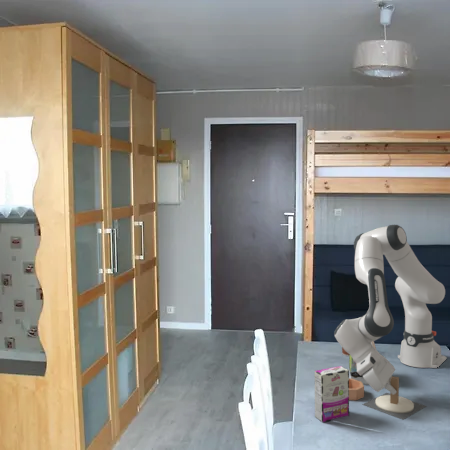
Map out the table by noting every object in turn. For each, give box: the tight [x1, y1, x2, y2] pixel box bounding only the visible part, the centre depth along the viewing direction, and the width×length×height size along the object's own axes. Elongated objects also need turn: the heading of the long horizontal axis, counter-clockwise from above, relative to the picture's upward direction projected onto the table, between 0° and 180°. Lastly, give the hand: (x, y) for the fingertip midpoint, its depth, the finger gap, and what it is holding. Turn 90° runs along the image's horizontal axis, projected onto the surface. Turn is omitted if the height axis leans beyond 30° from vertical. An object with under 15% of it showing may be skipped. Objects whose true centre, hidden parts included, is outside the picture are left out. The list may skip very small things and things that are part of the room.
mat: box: [362, 392, 428, 421], centre depth 183 cm, size 16×16×1 cm
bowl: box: [349, 377, 365, 401], centre depth 193 cm, size 11×11×4 cm
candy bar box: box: [314, 365, 350, 423], centre depth 175 cm, size 11×5×16 cm, turn 114°
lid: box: [375, 375, 414, 413], centre depth 182 cm, size 13×13×10 cm
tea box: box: [348, 341, 377, 386], centre depth 209 cm, size 15×10×15 cm
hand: (396, 391), depth 182 cm, fingers closed on lid, 2 cm apart
